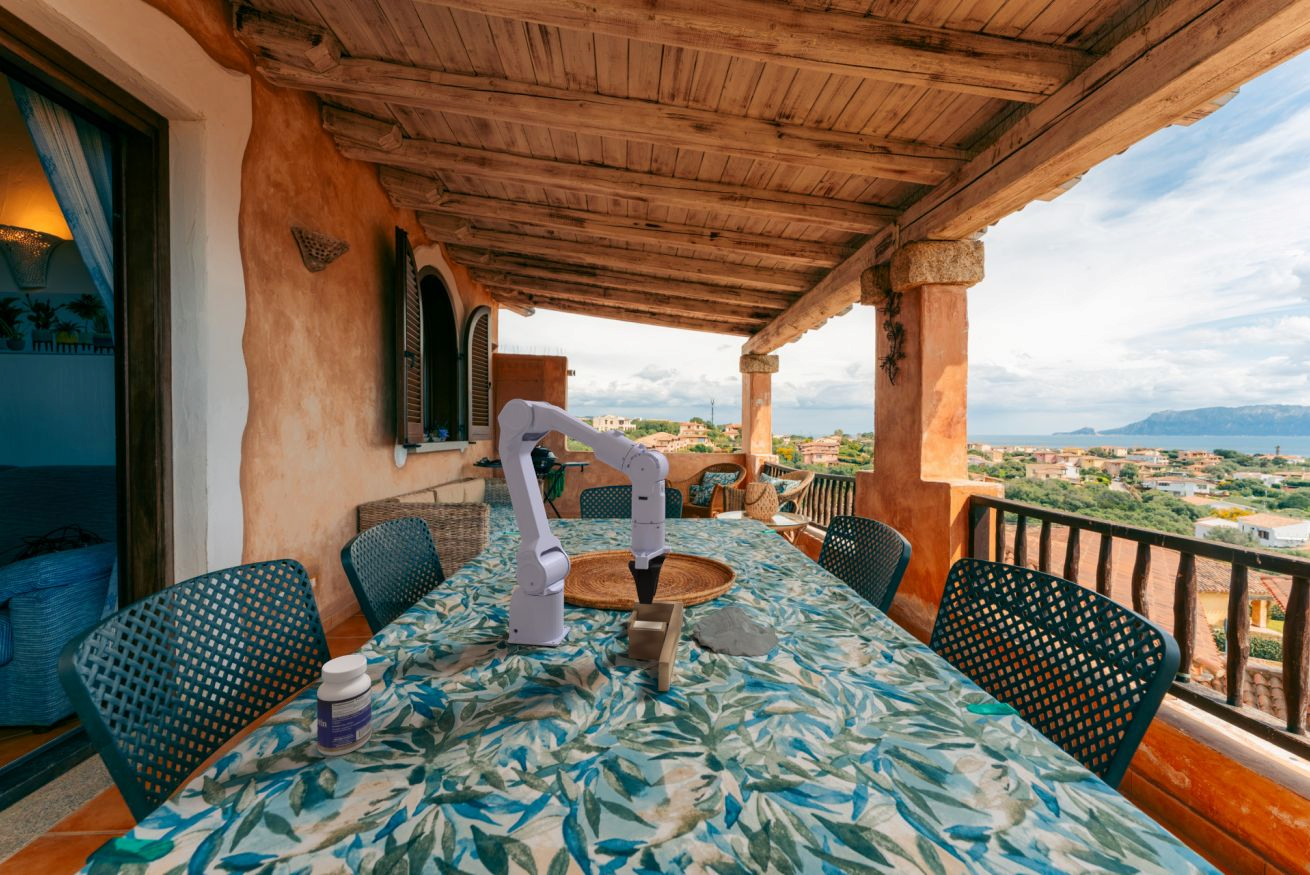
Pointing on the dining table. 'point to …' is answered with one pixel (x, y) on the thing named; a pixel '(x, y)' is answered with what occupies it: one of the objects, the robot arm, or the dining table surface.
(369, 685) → the pill bottle
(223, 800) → the dining table surface
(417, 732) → the dining table surface
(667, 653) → the wooden bracket
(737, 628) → the stone
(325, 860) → the dining table surface
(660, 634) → the cabinet block
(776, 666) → the dining table surface
